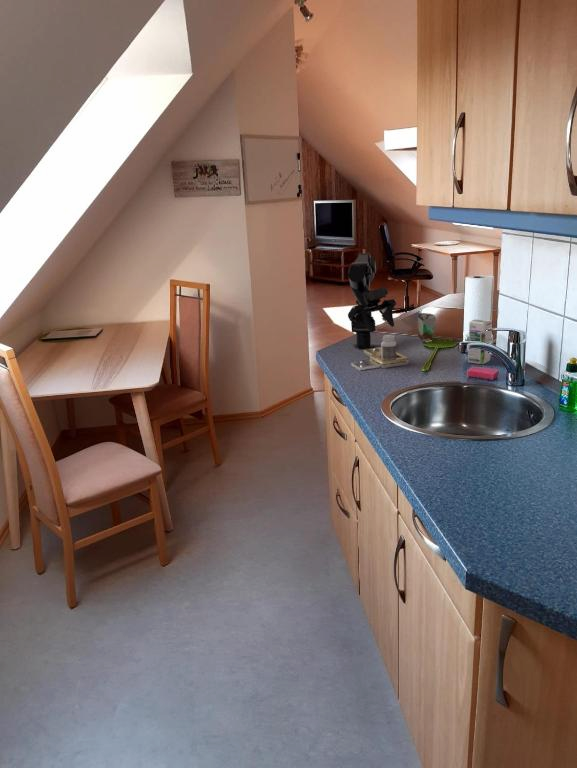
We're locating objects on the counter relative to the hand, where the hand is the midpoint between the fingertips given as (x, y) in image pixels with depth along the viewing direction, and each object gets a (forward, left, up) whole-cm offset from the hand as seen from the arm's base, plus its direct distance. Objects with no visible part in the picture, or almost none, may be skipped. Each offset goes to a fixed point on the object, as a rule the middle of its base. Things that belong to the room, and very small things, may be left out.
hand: (383, 328), depth 215 cm
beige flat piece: (-1, -4, -12) cm, 13 cm away
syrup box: (+18, +27, -12) cm, 35 cm away
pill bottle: (+3, +1, -12) cm, 13 cm away
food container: (-17, +28, -12) cm, 35 cm away
